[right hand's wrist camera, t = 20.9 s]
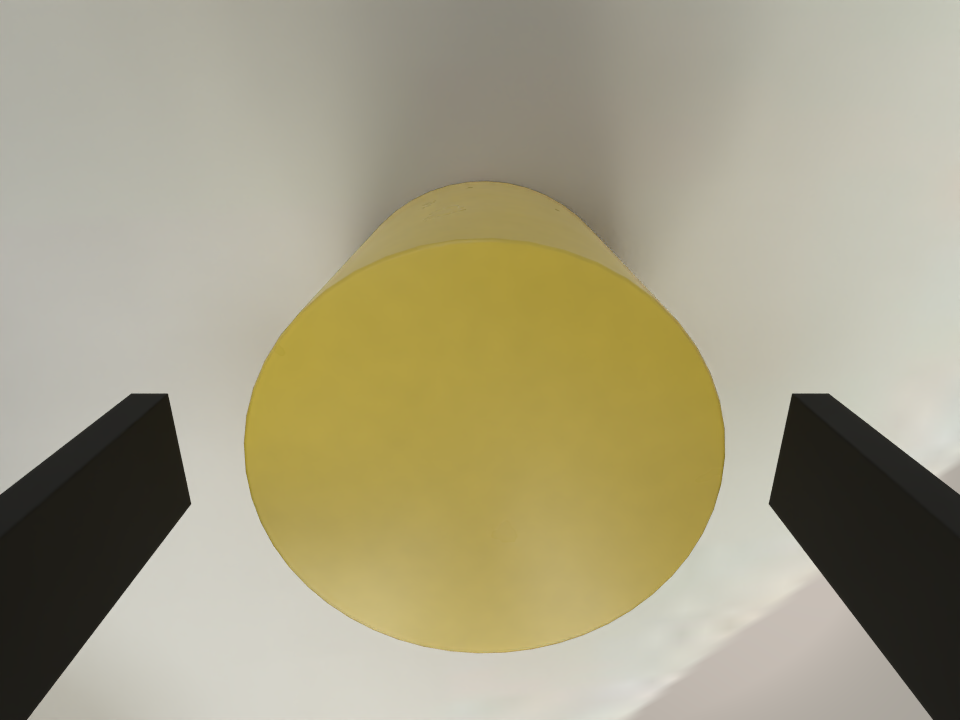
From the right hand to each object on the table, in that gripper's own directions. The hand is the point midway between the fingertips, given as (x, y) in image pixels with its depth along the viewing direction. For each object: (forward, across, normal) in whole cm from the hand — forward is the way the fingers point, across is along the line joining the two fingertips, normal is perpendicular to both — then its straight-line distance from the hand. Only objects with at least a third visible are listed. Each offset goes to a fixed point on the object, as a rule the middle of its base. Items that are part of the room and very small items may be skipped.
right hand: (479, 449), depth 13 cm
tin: (+7, 0, 0) cm, 7 cm away
